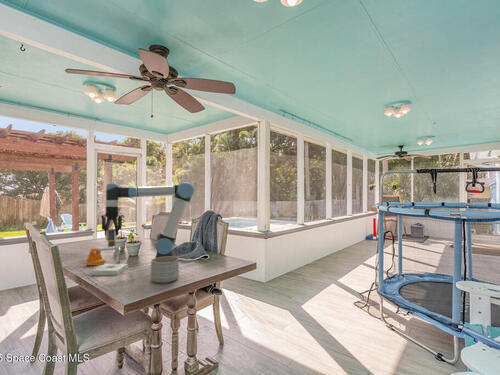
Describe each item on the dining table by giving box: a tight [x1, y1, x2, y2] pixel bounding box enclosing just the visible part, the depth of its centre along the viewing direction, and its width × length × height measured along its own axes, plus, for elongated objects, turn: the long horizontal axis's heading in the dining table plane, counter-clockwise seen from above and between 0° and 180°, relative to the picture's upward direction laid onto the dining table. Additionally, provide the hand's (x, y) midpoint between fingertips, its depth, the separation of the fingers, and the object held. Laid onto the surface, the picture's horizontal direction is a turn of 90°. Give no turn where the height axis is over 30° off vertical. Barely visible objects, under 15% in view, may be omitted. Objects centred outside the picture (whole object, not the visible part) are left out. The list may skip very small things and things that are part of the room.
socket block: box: [91, 263, 129, 276], centre depth 181 cm, size 16×16×3 cm
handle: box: [95, 246, 121, 264], centre depth 188 cm, size 2×16×14 cm, turn 115°
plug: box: [107, 228, 116, 248], centre depth 181 cm, size 5×5×12 cm
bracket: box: [85, 247, 106, 267], centre depth 198 cm, size 11×7×12 cm, turn 145°
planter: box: [150, 255, 180, 284], centre depth 165 cm, size 16×16×13 cm
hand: (111, 239), depth 181 cm, fingers closed on plug, 5 cm apart
